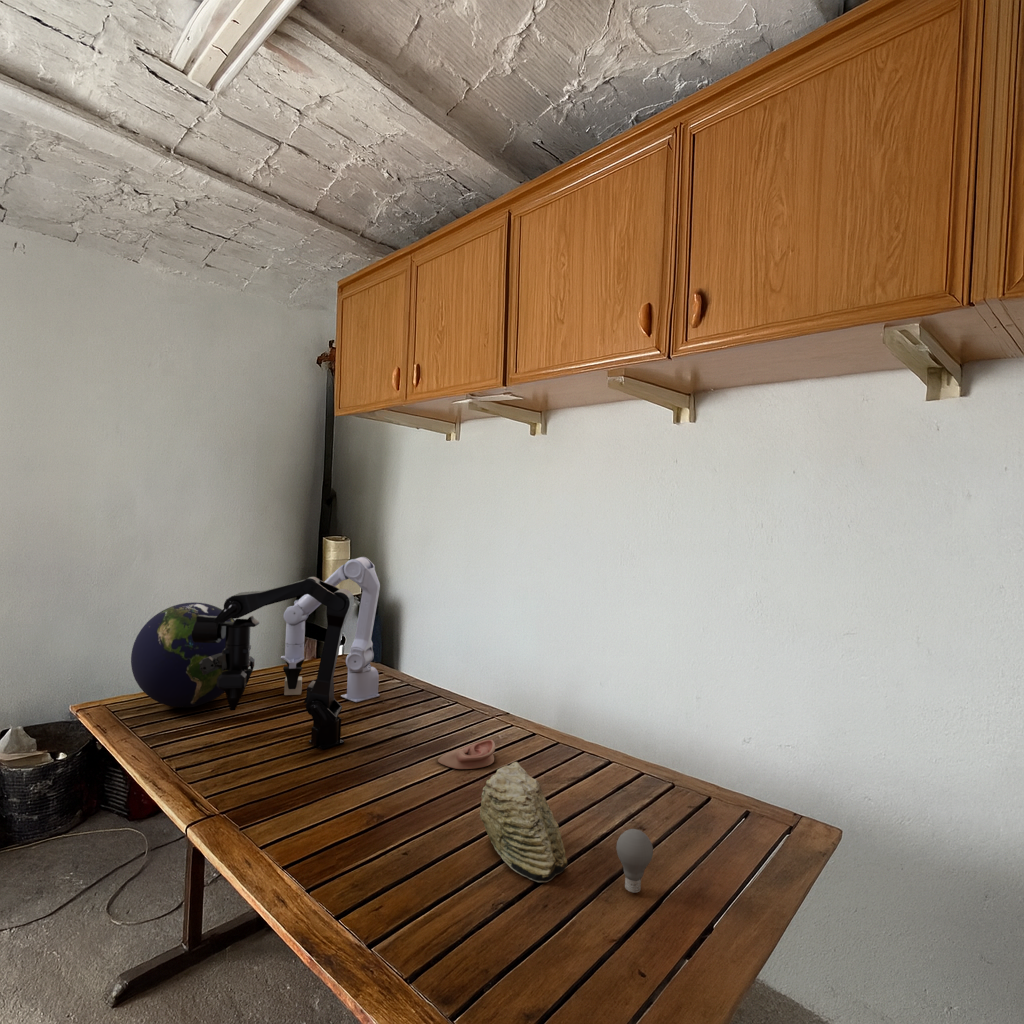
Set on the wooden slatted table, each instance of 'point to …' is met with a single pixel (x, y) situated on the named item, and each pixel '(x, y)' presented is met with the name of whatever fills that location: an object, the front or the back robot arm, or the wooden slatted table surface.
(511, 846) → the fossil
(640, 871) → the light bulb
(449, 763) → the anatomical model
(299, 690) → the block
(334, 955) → the wooden slatted table surface
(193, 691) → the globe
